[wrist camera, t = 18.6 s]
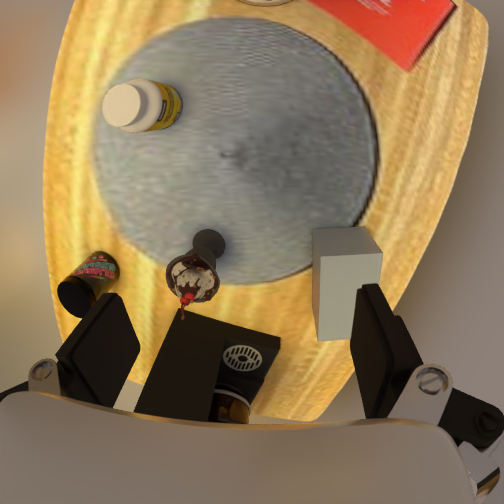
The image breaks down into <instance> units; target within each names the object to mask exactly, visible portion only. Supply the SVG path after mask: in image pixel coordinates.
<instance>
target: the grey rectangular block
mask: <svg viewBox="0 0 504 504" xmlns="http://www.w3.org/2000/svg"><path fill="white" fill-rule="evenodd" d="M312 255H313V277H312V307H313V313H314V320H315V326H316V333H317V340H318V342H319V341H332V340H344V339H351V332H352V325H353V318H354V310H355V302H356V293H357V289H358V288H361V287H362V285H363V284H371V283H378V285H379V283H380V275H381V267H382V259H383V252H382V251H381V249H380V248H379V247H378V245H377V244H376V242H375V241H374V240H373V238H372V237H371V235H370V234H369V233H368V231H367V230H366V229H365V227H364V226H362V227H339V228H319V229H312Z"/></svg>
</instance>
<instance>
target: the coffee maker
mask: <svg viewBox="0 0 504 504" xmlns="http://www.w3.org/2000/svg"><path fill="white" fill-rule="evenodd" d="M182 311H184V316H185V318H184V320H182V319H181V317H182V315H183V314H182ZM182 311H181V309H180V308H178V311H177V313H176V315H175V317H174V319H173V321H172V324H171V326H170V328H169V330H168V333H167V335H166V337H165V339H164V341H163V344H162V346H161V348H160V350H159V353H158V355H157V357H156V360H155V362H154V364H153V366H152V369H151V371H150V373H149V376H148V378H147V380H146V383H145V385H144V387H143V390H142V392H141V395H140V397H139V400H138V402H137V405H136V407H135V409H134V413H139V414H145V415H151V416H158V417H165V418H172V419H180V420H190V421H200V422H212V423H229V424H248V422H249V415H250V412H249V411H250V405H251V403H252V401H253V400H254V398H255V396H256V395H257V393H258V391H259V389H260V388H261V386H262V384H263V382H264V378H265V376H266V374H267V372H268V370H269V368H270V367H271V365H272V363H273V361H274V359H275V357H276V355H277V354H278V352H279V350H280V337H276V336H272V335H269V334H265V333H261V332H257V331H254V330H250V329H246V328H243V327H239V326H236V325H232V324H229V323H225V322H222V321H218V320H215V319H212V318H208V317H205V316H202V315H199V314H195V313H192V312H189V311H186V310H183V309H182Z"/></svg>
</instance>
